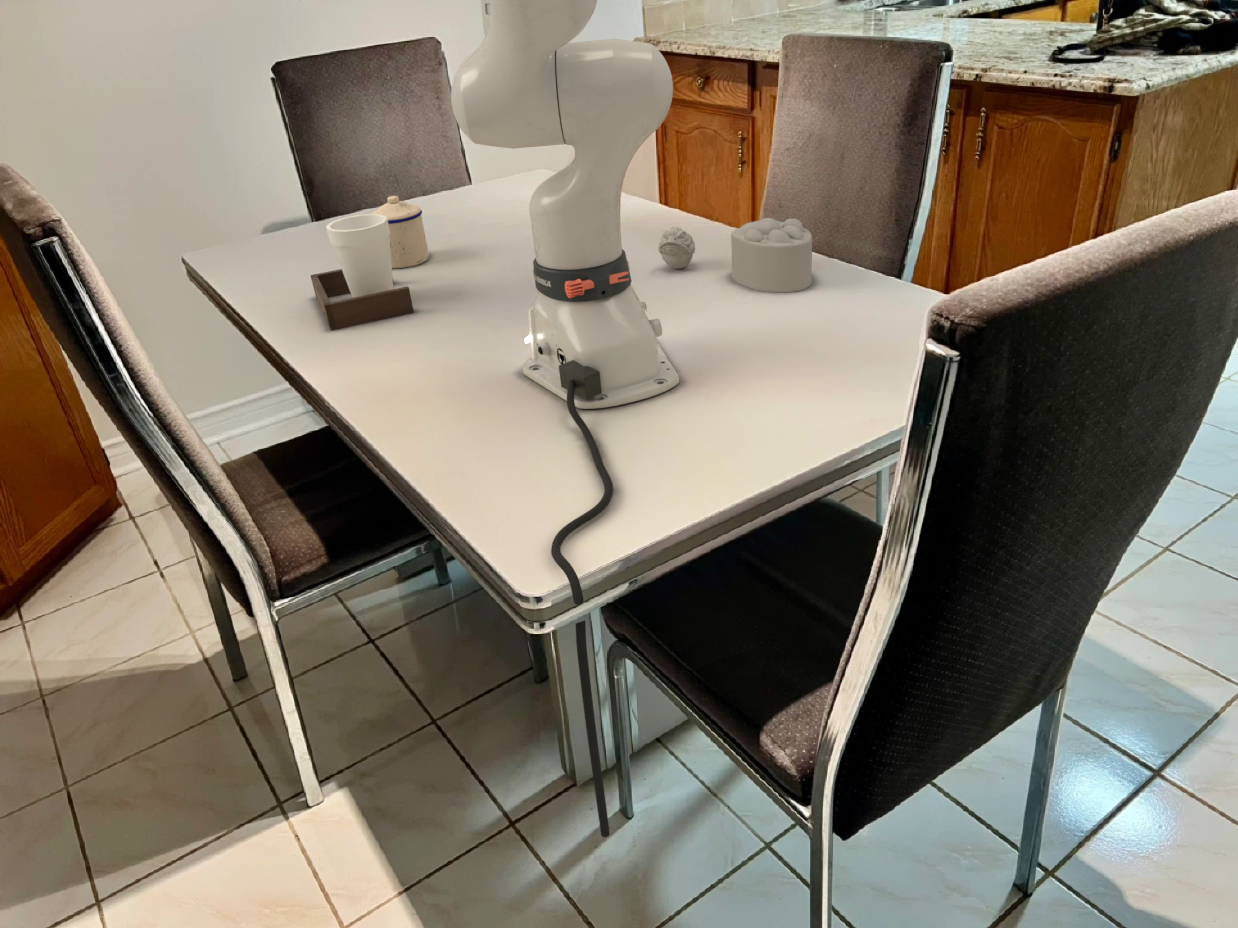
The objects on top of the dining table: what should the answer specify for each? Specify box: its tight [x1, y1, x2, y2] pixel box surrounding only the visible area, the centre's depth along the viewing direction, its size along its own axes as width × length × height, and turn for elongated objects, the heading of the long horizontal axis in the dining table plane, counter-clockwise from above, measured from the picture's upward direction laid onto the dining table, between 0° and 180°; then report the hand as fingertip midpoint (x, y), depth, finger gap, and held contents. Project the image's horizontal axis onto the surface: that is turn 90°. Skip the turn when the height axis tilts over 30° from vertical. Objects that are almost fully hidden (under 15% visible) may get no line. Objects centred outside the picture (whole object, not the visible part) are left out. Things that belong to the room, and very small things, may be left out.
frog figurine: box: [657, 226, 696, 269], centre depth 153 cm, size 6×7×7 cm
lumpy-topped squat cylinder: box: [730, 217, 813, 293], centre depth 145 cm, size 10×13×9 cm
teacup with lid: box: [371, 195, 430, 269], centre depth 168 cm, size 12×9×12 cm
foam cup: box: [325, 213, 394, 298], centre depth 150 cm, size 10×9×13 cm
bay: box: [310, 268, 415, 331], centre depth 151 cm, size 17×13×4 cm
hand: (519, 78), depth 142 cm, fingers closed
